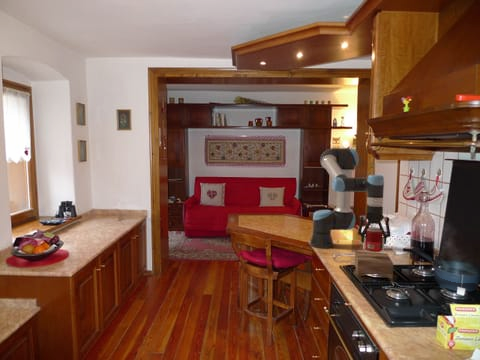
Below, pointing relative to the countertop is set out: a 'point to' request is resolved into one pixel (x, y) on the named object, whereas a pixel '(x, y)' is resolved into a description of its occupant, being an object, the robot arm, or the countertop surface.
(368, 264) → the walnut stand
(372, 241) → the canned food
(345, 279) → the countertop surface
